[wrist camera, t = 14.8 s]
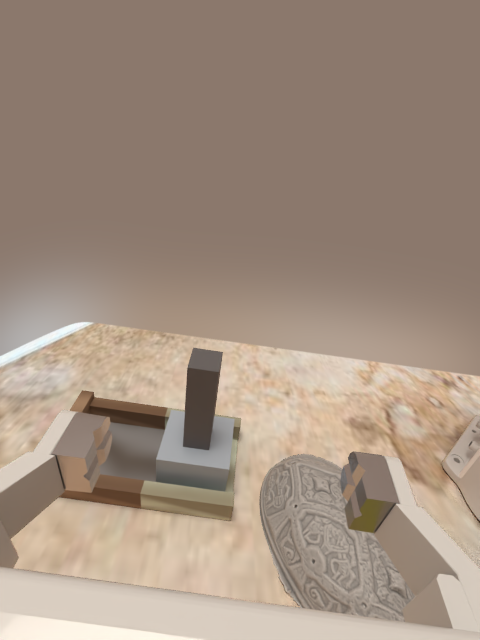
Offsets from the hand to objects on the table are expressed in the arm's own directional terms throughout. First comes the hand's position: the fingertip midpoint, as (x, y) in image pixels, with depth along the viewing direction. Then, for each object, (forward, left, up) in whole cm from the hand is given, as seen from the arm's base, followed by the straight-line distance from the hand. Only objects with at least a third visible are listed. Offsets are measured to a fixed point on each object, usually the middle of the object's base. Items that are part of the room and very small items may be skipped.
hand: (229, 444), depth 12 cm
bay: (-11, -17, -30) cm, 36 cm away
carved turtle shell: (-17, +6, -31) cm, 36 cm away
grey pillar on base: (-14, -12, -30) cm, 35 cm away
